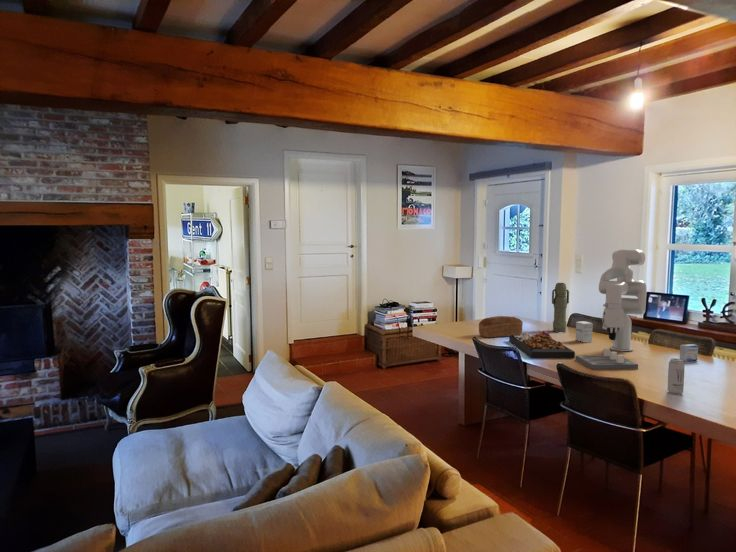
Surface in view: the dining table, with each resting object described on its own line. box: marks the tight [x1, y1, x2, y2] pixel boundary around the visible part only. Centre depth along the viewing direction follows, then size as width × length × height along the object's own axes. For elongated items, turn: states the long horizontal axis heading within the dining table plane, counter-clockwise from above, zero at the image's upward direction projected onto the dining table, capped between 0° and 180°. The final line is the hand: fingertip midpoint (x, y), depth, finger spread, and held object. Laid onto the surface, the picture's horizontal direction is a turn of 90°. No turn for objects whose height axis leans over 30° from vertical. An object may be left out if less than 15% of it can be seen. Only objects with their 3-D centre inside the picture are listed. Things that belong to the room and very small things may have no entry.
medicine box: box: [679, 343, 699, 362], centre depth 280 cm, size 8×4×9 cm, turn 105°
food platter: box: [508, 329, 576, 359], centre depth 308 cm, size 45×25×10 cm, turn 0°
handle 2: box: [617, 354, 625, 363], centre depth 265 cm, size 2×3×4 cm, turn 92°
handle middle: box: [610, 351, 618, 360], centre depth 272 cm, size 2×3×4 cm, turn 92°
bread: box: [478, 315, 524, 338], centre depth 348 cm, size 12×31×14 cm, turn 105°
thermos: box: [551, 282, 570, 333], centre depth 361 cm, size 9×12×35 cm
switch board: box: [575, 354, 639, 371], centre depth 272 cm, size 20×24×3 cm
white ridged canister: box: [575, 320, 594, 343], centre depth 329 cm, size 7×7×13 cm
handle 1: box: [602, 348, 611, 357], centre depth 279 cm, size 2×3×4 cm, turn 92°
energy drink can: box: [667, 357, 686, 396], centre depth 223 cm, size 6×6×15 cm
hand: (612, 339), depth 272 cm, fingers closed
